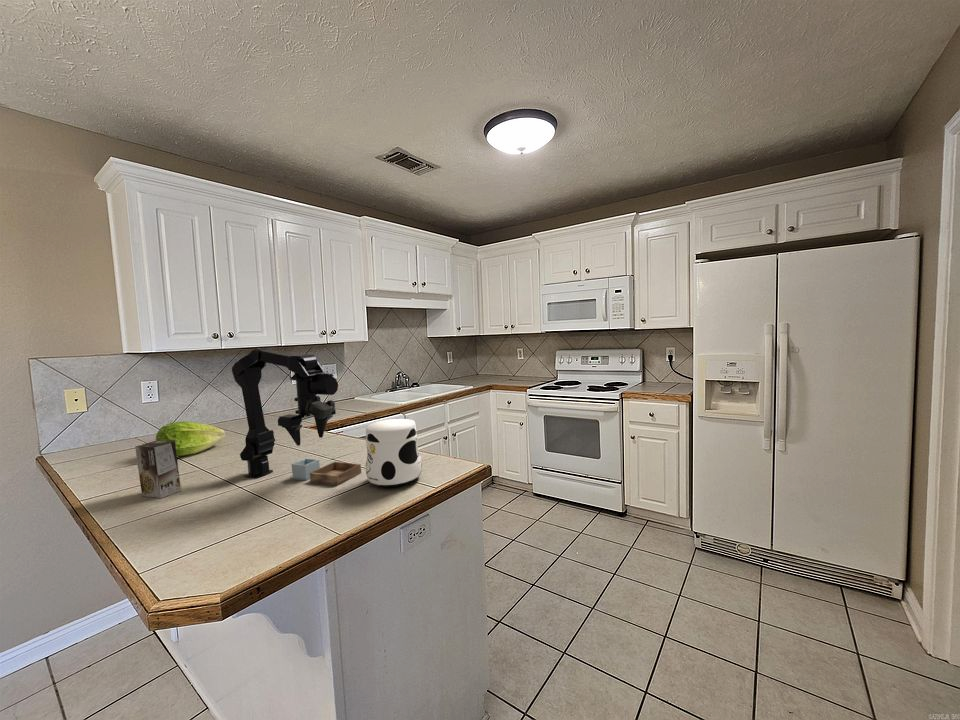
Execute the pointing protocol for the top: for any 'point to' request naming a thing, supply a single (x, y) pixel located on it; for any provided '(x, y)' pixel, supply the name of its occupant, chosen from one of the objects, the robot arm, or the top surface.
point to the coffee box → (158, 468)
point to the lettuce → (190, 436)
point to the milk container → (392, 452)
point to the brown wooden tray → (335, 473)
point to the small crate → (304, 468)
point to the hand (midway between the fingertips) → (310, 441)
